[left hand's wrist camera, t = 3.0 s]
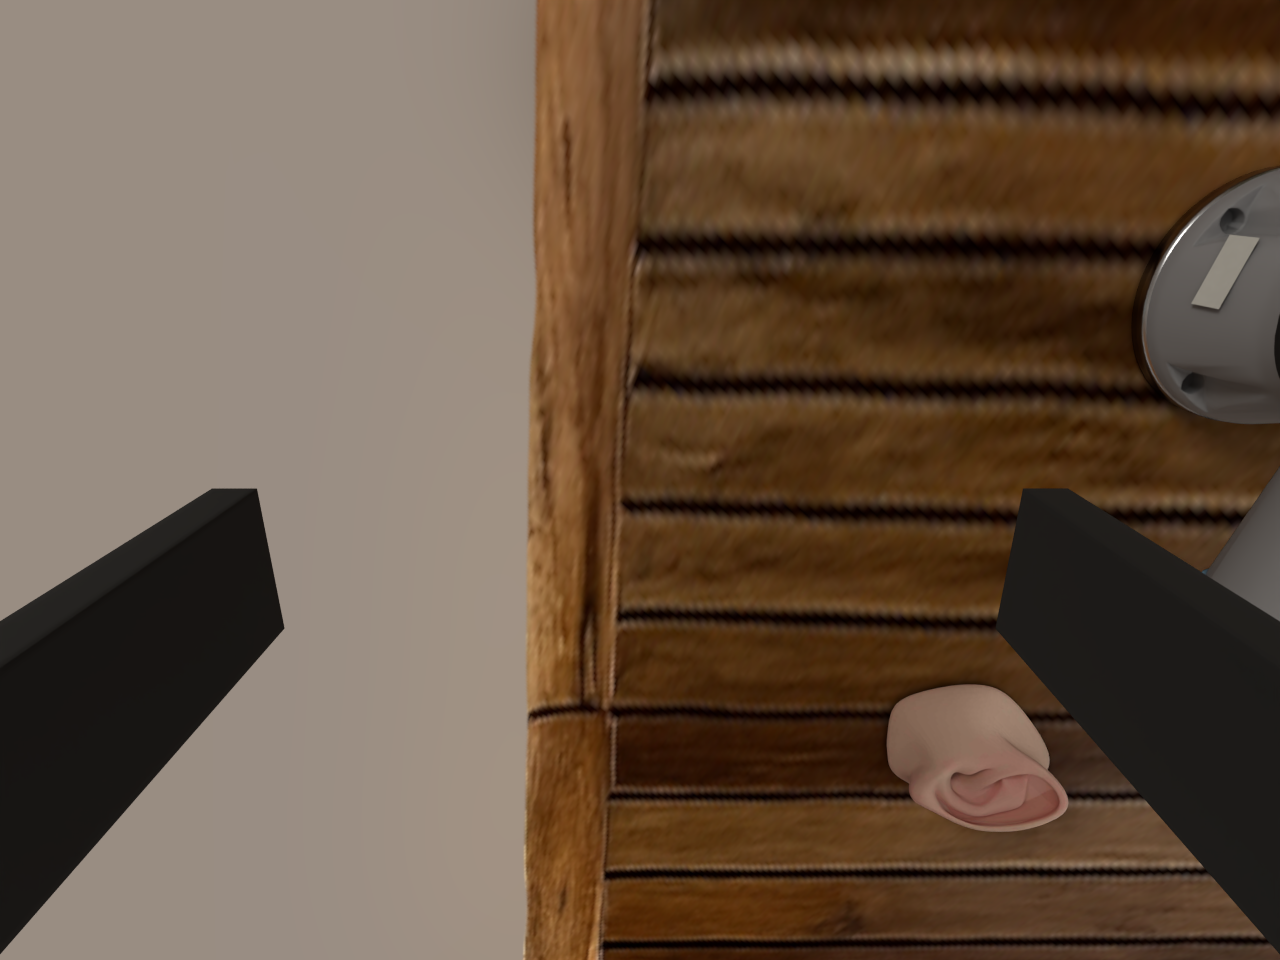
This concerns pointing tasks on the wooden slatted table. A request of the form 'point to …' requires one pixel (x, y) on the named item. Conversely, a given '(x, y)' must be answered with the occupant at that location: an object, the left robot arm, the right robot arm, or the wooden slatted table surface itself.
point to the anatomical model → (974, 759)
